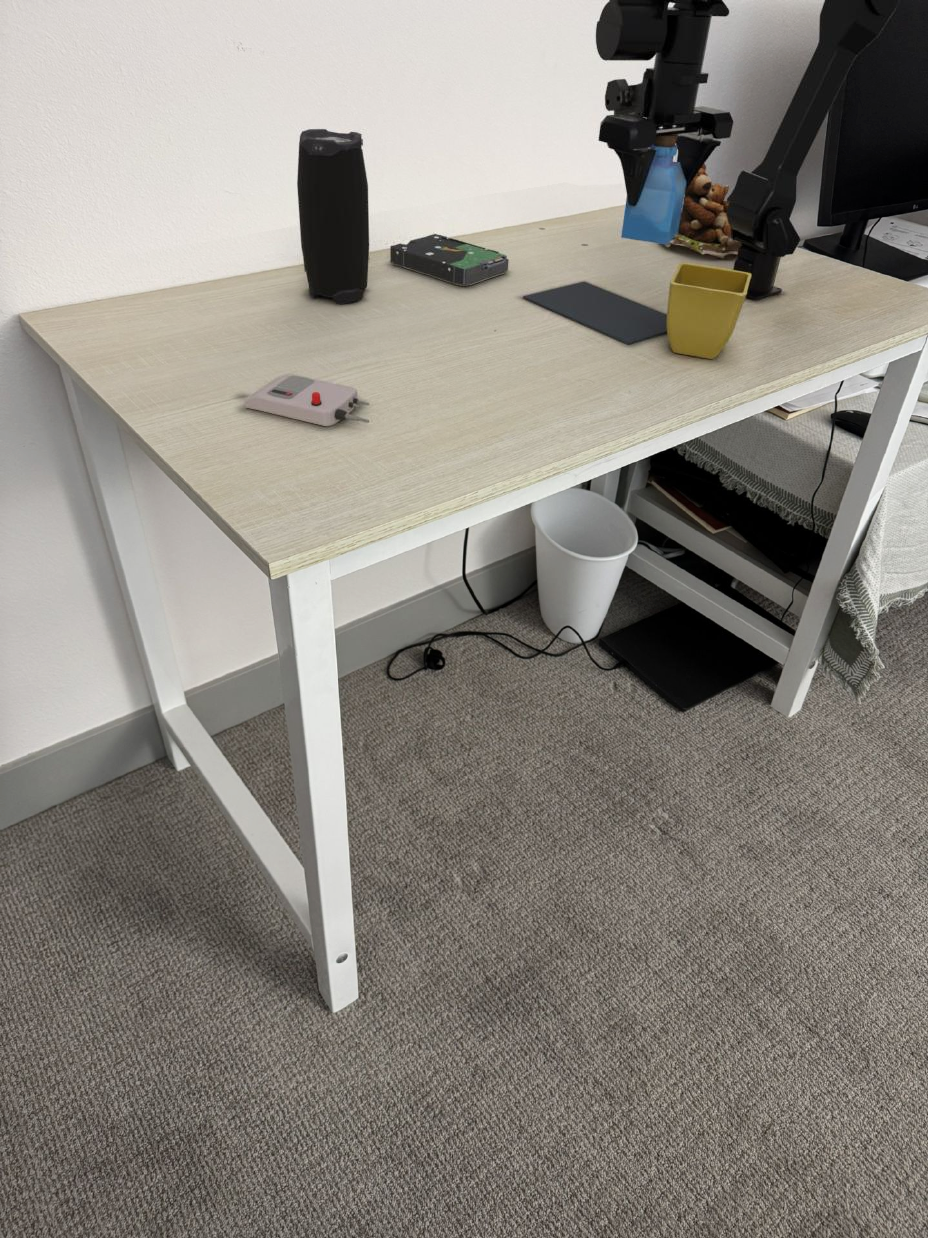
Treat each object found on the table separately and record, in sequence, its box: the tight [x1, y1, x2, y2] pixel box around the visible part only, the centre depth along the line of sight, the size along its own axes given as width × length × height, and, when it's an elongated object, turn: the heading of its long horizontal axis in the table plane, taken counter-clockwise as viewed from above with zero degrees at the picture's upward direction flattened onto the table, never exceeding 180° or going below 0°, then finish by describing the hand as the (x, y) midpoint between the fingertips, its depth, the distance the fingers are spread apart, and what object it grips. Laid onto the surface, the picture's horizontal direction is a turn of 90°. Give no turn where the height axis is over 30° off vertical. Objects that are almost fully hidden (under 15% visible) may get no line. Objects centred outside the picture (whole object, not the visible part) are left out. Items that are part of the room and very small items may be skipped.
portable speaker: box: [296, 128, 370, 305], centre depth 114 cm, size 9×9×20 cm
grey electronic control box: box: [244, 373, 370, 427], centre depth 92 cm, size 7×16×3 cm, turn 67°
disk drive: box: [389, 233, 510, 287], centre depth 130 cm, size 10×3×15 cm
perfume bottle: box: [620, 134, 686, 246], centre depth 113 cm, size 6×6×12 cm
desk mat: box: [522, 281, 667, 346], centre depth 119 cm, size 12×20×1 cm, turn 39°
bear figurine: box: [665, 163, 741, 260], centre depth 141 cm, size 14×15×12 cm
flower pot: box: [666, 262, 751, 360], centre depth 107 cm, size 9×9×9 cm
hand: (655, 201), depth 114 cm, fingers closed on perfume bottle, 8 cm apart
